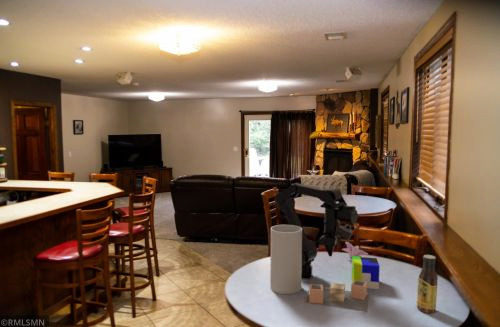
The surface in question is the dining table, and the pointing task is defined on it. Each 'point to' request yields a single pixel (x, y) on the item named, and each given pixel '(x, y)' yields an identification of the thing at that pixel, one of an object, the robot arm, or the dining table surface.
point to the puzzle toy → (366, 271)
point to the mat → (347, 304)
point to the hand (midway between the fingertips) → (330, 256)
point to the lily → (354, 251)
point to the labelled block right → (359, 290)
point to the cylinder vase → (286, 259)
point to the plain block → (337, 292)
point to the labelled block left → (316, 293)
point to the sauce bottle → (427, 286)
